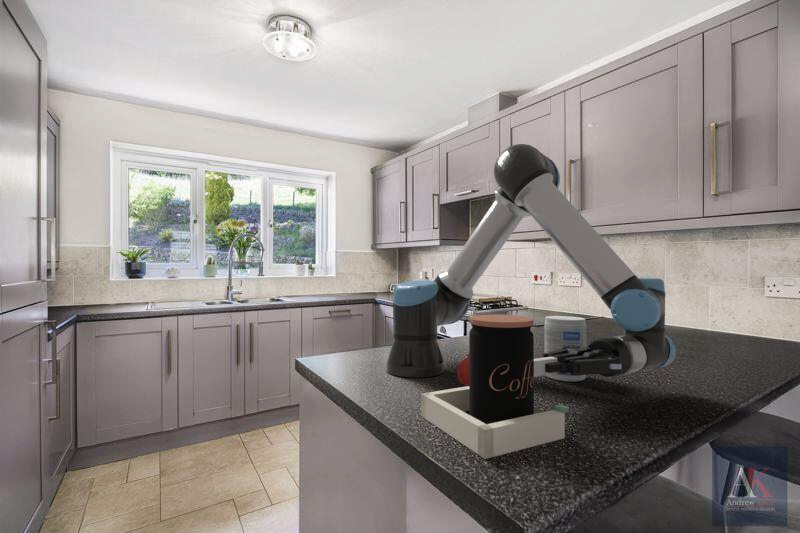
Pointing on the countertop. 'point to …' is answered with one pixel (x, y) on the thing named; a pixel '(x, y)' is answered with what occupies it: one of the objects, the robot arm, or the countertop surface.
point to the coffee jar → (501, 367)
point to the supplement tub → (565, 339)
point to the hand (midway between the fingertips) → (527, 368)
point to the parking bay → (494, 437)
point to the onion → (464, 371)
